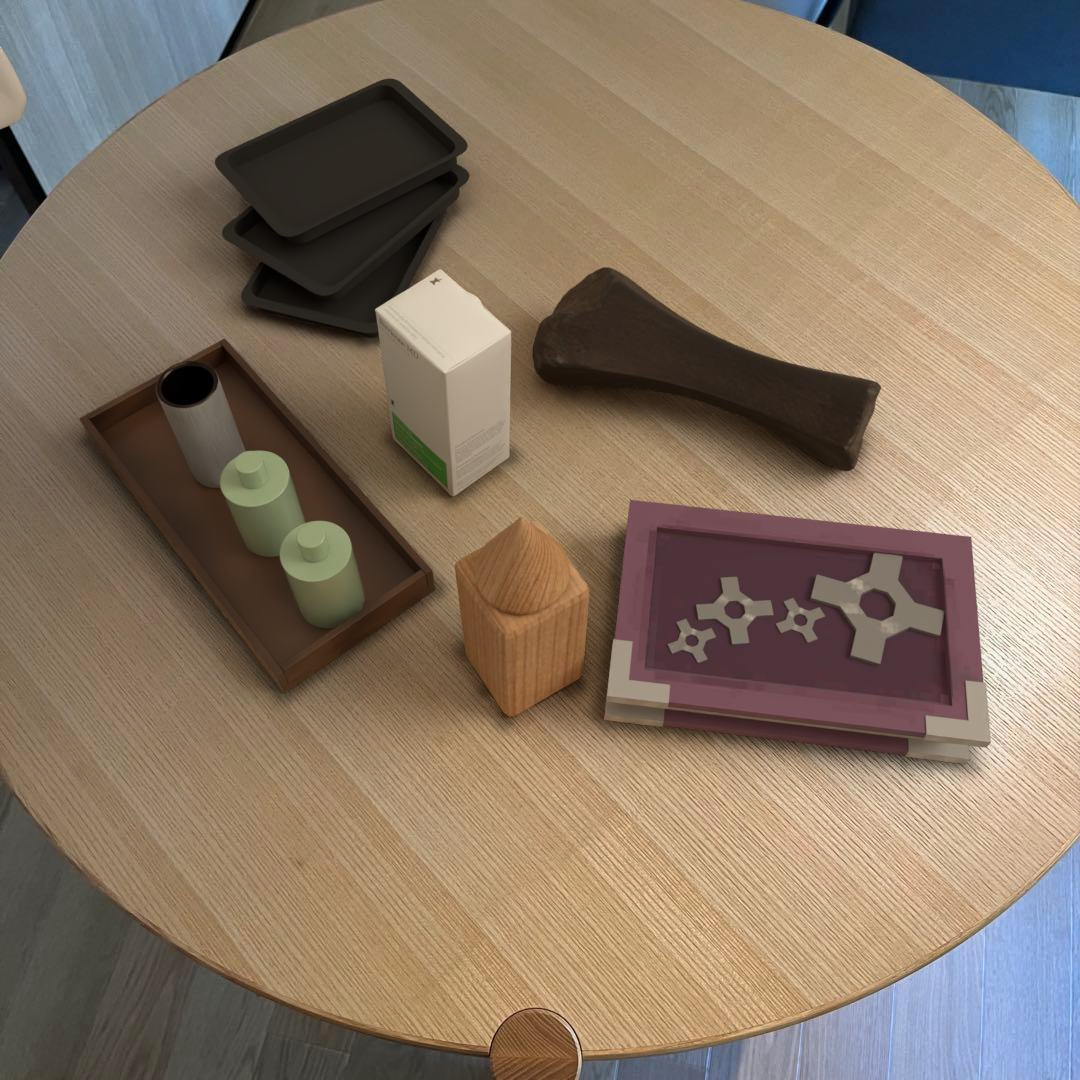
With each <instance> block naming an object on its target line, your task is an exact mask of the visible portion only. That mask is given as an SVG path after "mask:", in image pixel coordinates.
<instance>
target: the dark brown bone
mask: <svg viewBox="0 0 1080 1080" xmlns="http://www.w3.org/2000/svg"><path fill="white" fill-rule="evenodd" d="M531 348H532V351H531V357H532V361H533V362H532V363H533V368H534V370H535V372H536V374H537V376H538V377H539V378H540V379H541V380H542V381H544V382H545V383H547V384H549V385H552V386H558V387H579V388H582V387H584V388H585V387H588V388H589V387H596V388H626V389H638V390H645V391H650V392H651V391H653V392H658V393H663V394H668V395H673V396H678V397H682V398H686V399H688V400H693V401H697V402H699V403H703V404H706V405H709V406H712V407H714V408H717V409H720V410H723V411H725V412H728V413H731V414H732V415H736V416H739V417H741V418H743V419H745V420H747V421H750V422H752V423H754V424H756V425H758V426H759V427H762V428H764V429H766V430H768V431H769V432H772V433H774V435H775V434H776V435H778V436H779V437H781V438H782V439H785V440H786V441H787V442H790V443H791V444H793V445H795V446H797V447H798V448H800V449H801V450H803V451H805V452H807V454H809V455H811V456H813V457H814V458H816V459H817V460H819V461H821V462H823V463H824V464H826V465H827V466H829V467H831V468H834V469H836V470H839V471H841V472H851V471H852V470H853V469H855V468H856V466H857V463H858V460H859V455H860V453H861V450H862V446H863V442H864V435H865V432H866V430H867V427H868V425H869V423H870V421H871V419H872V417H873V415H874V412H875V410H876V404H877V403H876V402H877V399H878V397H879V394H880V392H881V389H882V386H881V384H880V383H879V382H877V381H875V380H871V379H868V378H864V377H859V376H853V375H848V374H843V373H839V372H833V371H827V370H822V369H819V368H813V367H808V366H804V365H801V364H797V363H792V362H788V361H785V360H781V359H777V358H774V357H770V356H768V355H766V354H762V353H759V352H756V351H753V350H750V349H748V348H745V347H742V346H740V345H738V344H735V343H733V342H731V341H728V340H726V339H724V338H721V337H719V336H717V335H715V334H713V333H711V332H709V331H708V330H706V329H704V328H701V327H700V326H698V325H696V324H694V322H691V321H689V320H688V319H686V318H685V317H683V316H681V315H680V314H678V313H677V312H675V311H674V310H672V309H671V308H669V307H668V306H667V305H666V304H664V303H663V302H661V301H660V300H658V299H657V298H655V297H654V296H653V295H651V294H650V293H649V292H648V291H647V290H645V289H644V288H643V287H642V286H640V285H639V284H638V283H636V282H635V281H634V280H633V279H631V278H630V277H628V276H627V275H625V274H623V273H622V272H621V271H619V270H617V269H615V268H613V267H606V266H605V267H604V266H603V267H601V268H599V269H596V270H594V271H593V272H590V273H589V274H587V275H586V276H585V277H584V278H583V279H582V280H581V281H580V282H578V283H577V284H575V285H574V286H573V287H571V288H570V289H569V290H568V291H567V292H565V293H564V295H562V297H561V299H560V300H559V301H558V303H557V304H556V306H555V308H554V309H553V312H552V314H550V315H548V316H546V317H545V318H543V319H542V320H541V321H540V323H539V325H538V327H537V330H536V332H535V337H534V340H533V343H532V347H531Z"/></svg>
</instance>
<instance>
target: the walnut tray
mask: <svg viewBox="0 0 1080 1080" xmlns="http://www.w3.org/2000/svg"><path fill="white" fill-rule="evenodd" d="M184 361H200V362H203V363H206V364H208V365H210V366H211V367H212V368H213V369H214V370H215V371H216V373H217V375H218V377H219V380H220V383H221V385H222V388H223V391H224V394H225V396H226V399H227V402H228V404H229V407H230V410H231V413H232V415H233V418H234V421H235V423H236V426H237V429H238V432H239V434H240V437H241V440H242V442H243V445H244V448H245V450H246V451H268V452H271V453H274V454H276V455H278V456H279V457H281V458H282V459H283V460H284V461H285V463H286V464H287V466H288V469H289V472H290V475H291V478H292V481H293V484H294V487H295V490H296V494H297V497H298V500H299V503H300V506H301V509H302V512H303V515H304V518H305V521H306V523H308V522H312V521H327V522H331V523H334V524H336V525H338V526H339V527H341V528H342V529H343V530H344V531H345V532H346V533H347V534H348V536H349V538H350V541H351V544H352V548H353V551H354V555H355V559H356V562H357V566H358V570H359V574H360V577H361V581H362V585H363V588H364V593H365V600H364V604H363V607H362V609H361V610H360V611H359V612H357V613H356V614H354V615H353V616H351V617H350V618H349V619H347V620H346V621H344V622H343V623H341V624H340V625H338V626H337V627H335V628H330V629H325V628H319V627H316V626H314V625H312V624H310V623H308V622H307V621H306V620H305V619H304V618H303V617H302V615H301V614H300V611H299V609H298V606H297V604H296V601H295V598H294V596H293V593H292V591H291V588H290V585H289V583H288V580H287V577H286V575H285V572H284V569H283V567H282V564H281V561H280V556H276V557H265V556H260V555H257V554H255V553H253V552H251V551H250V550H249V549H248V548H247V547H246V546H245V544H244V542H243V540H242V538H241V536H240V533H239V531H238V528H237V526H236V524H235V521H234V519H233V517H232V514H231V512H230V510H229V507H228V505H227V502H226V500H225V498H224V495H223V493H222V491H221V488H209V487H206V486H203V485H202V484H200V483H199V482H198V481H197V480H196V479H195V478H194V476H193V474H192V472H191V470H190V468H189V465H188V463H187V461H186V459H185V456H184V454H183V452H182V450H181V448H180V445H179V443H178V441H177V439H176V436H175V434H174V432H173V430H172V428H171V425H170V423H169V421H168V419H167V416H166V414H165V412H164V410H163V408H162V405H161V403H160V401H159V399H158V396H157V393H156V384H157V381H158V379H159V377H160V376H161V374H162V373H163V372H164V371H163V372H161V373H159V374H157V375H155V376H153V377H151V378H149V379H148V380H146V381H144V382H142V383H140V384H139V385H137V386H135V387H133V388H131V389H130V390H127V391H126V392H124V393H122V394H120V395H119V396H117V397H115V398H113V399H111V400H110V401H107V402H106V403H104V404H102V405H100V406H99V407H97V408H95V409H93V410H92V411H90V412H88V413H86V414H84V415H81V417H79V421H80V423H81V426H82V427H83V428H84V430H85V432H86V434H87V435H88V438H89V439H90V442H91V443H92V444H93V445H94V447H95V448H96V449H97V451H98V452H99V453H100V454H101V455H102V457H103V458H104V459H105V461H106V462H107V463H108V465H109V466H110V468H111V469H112V470H113V472H115V474H116V475H117V476H118V478H119V479H120V480H121V482H122V483H123V484H124V486H125V487H126V488H127V489H128V491H129V492H130V493H131V495H132V496H133V497H134V499H135V500H136V502H137V503H138V504H139V506H140V507H141V508H142V510H144V512H145V513H146V514H147V515H148V517H149V519H151V521H152V522H153V524H154V525H155V526H156V527H157V529H158V530H159V532H160V533H161V534H162V535H163V536H164V538H165V539H166V540H167V542H168V543H169V544H170V546H171V547H172V548H173V550H174V551H175V552H176V554H177V555H178V556H179V558H180V559H181V560H182V562H183V563H184V564H185V565H186V567H187V568H188V570H189V571H190V572H191V574H192V575H193V576H194V577H195V579H196V580H197V581H198V583H199V584H200V585H201V587H202V588H203V590H205V592H206V593H207V594H208V596H209V598H211V599H212V601H213V602H214V603H215V605H216V606H217V608H218V609H219V610H220V611H221V613H222V614H223V616H224V617H225V618H226V619H227V621H228V622H229V623H230V625H231V626H232V627H233V629H234V630H235V631H236V633H237V634H238V635H239V636H240V638H241V639H242V640H243V642H244V643H245V644H246V645H247V647H248V648H249V649H250V651H251V652H252V653H253V655H254V656H255V657H256V659H257V660H258V661H259V662H260V664H261V665H262V666H263V668H264V669H265V670H266V671H267V673H268V675H269V676H270V677H271V679H272V680H273V681H274V682H275V683H276V685H277V686H278V687H279V689H280V690H281V691H282V693H283V694H286V693H288V692H289V691H291V690H292V689H294V687H296V686H298V685H299V684H301V683H302V682H304V681H306V680H307V679H308V678H309V677H311V676H312V675H314V674H315V673H316V672H318V671H320V670H321V669H323V668H324V667H325V666H327V665H328V664H329V663H332V662H333V661H334V660H335V659H337V658H339V657H340V656H341V655H343V654H344V653H345V652H347V651H348V650H350V649H351V648H353V647H354V646H356V645H357V644H358V643H360V642H362V641H363V640H364V639H366V638H367V637H369V636H370V635H372V634H374V632H376V631H378V630H379V629H380V628H382V627H384V626H385V625H387V624H388V623H389V622H391V621H392V620H393V619H395V618H396V617H398V616H399V615H401V614H402V613H404V612H405V611H406V610H408V609H409V608H411V607H413V606H414V605H415V604H417V603H419V602H420V601H421V600H423V599H424V598H425V597H427V596H429V595H430V594H431V593H433V592H434V591H435V590H436V586H435V585H436V584H435V578H434V573H433V569H432V568H431V567H430V566H429V564H428V563H427V562H426V561H425V559H423V558H422V557H421V555H419V554H418V552H417V551H416V550H415V548H413V547H412V546H411V545H410V543H409V542H408V541H407V540H406V539H405V538H404V537H403V535H402V534H401V533H400V532H399V530H398V529H396V528H395V527H394V526H393V524H392V523H391V522H390V521H389V520H388V519H387V518H386V516H385V515H384V514H383V513H382V511H380V510H379V509H378V508H377V507H376V505H375V504H374V503H373V502H372V500H370V499H369V497H368V496H367V495H366V494H365V493H364V492H363V491H362V490H361V489H360V488H359V486H358V485H357V484H356V483H355V482H354V480H352V479H351V477H350V476H349V475H348V474H347V473H346V472H345V471H344V469H343V468H342V467H341V466H340V465H339V464H338V463H337V462H336V461H335V460H334V458H333V457H332V456H331V455H330V454H329V453H328V452H327V451H326V449H325V448H323V446H322V445H321V444H320V443H319V442H318V441H317V440H316V438H315V437H314V436H313V435H312V434H311V432H310V431H308V429H307V428H306V427H305V426H304V424H302V423H301V422H300V421H299V419H298V418H297V417H296V416H295V415H294V413H292V411H291V410H290V409H289V408H288V407H287V406H286V405H285V404H284V403H283V401H282V400H281V399H280V398H279V396H277V394H275V392H274V391H272V389H271V388H270V387H269V386H268V385H267V384H266V382H265V381H264V380H263V379H262V378H261V377H260V376H259V375H258V374H257V372H256V371H255V370H254V369H253V368H252V367H251V366H250V365H249V364H248V362H247V361H246V360H245V359H244V358H243V357H242V356H241V354H239V352H238V351H237V350H236V349H235V347H233V346H232V344H231V343H230V342H229V341H228V340H227V339H226V338H225V337H224V338H222V339H221V340H219V341H217V342H215V343H212V345H209V346H207V347H205V348H204V349H202V350H201V351H199V352H197V353H195V354H193V355H191V356H189V357H187V358H185V359H184V360H183V361H181V362H184Z"/></svg>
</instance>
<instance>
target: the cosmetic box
mask: <svg viewBox="0 0 1080 1080" xmlns="http://www.w3.org/2000/svg"><path fill="white" fill-rule="evenodd" d="M375 312H376V318H377V325H378V333H379V336H378V338H379V346H380V353H381V362H382V368H383V376H384V383H385V390H386V398H387V405H388V412H389V413H388V414H389V420H390V426H391V436H392V439H393V440H394V442H395V443H397V445H398V446H400V447H401V448H402V449H403V450H404V451H405V452H406V453H407V454H408V455H409V456H410V458H412V459H413V460H414V461H415V462H416V463H417V464H418V465H419V466H420V467H421V468H422V469H423V470H424V471H425V472H426V473H427V474H429V475H430V477H431V478H433V480H434V481H436V483H438V484H439V486H440V487H442V488H443V489H444V491H445V492H447V494H449V495H450V496H451V497H455V496H457V495H459V493H461V492H462V491H464V490H466V489H467V488H468V487H470V486H471V485H472V484H474V483H476V482H477V481H478V480H479V479H481V478H482V477H484V476H485V475H487V474H488V473H489V472H491V471H492V470H494V469H495V468H496V467H498V466H499V465H501V464H502V463H503V462H505V461H506V460H508V459H509V458H510V457H511V456H510V455H511V454H510V450H511V448H510V445H511V442H510V441H511V440H510V439H511V437H510V436H511V382H512V381H511V372H512V371H511V369H512V366H511V365H512V364H511V363H512V330H511V329H509V328H508V327H507V326H506V325H505V324H504V323H502V321H500V319H498V318H497V317H496V316H495V315H494V314H492V313H491V312H490V311H489V309H487V308H486V307H485V306H484V305H483V303H482V301H481V300H480V298H478V296H477V295H475V294H473V293H471V292H468V291H466V290H465V289H464V288H463V287H462V286H461V285H460V284H458V283H457V282H456V281H454V279H453V278H451V277H450V276H449V275H448V274H447V273H446V272H444V271H443V270H442V269H440V268H439V269H438V270H435V271H434V272H433V273H431V274H430V275H428V276H426V277H425V278H423V279H422V280H420V281H418V282H417V283H415V284H414V285H412V286H411V287H410V286H409V287H408V289H407V290H406V291H404V292H402V293H401V294H399V295H397V296H396V297H394V298H392V299H391V300H389V301H387V302H386V303H384V304H383V305H381V306H379V307H378V308H376V309H375Z"/></svg>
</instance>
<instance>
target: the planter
mask: <svg viewBox="0 0 1080 1080" xmlns="http://www.w3.org/2000/svg"><path fill="white" fill-rule="evenodd" d="M183 361H184V360H183ZM161 373H162V372H161ZM161 373H160V374H161ZM156 393H157V396H158V399H159V401H160V403H161V405H162V408H163V410H164V412H165V414H166V416H167V419H168V421H169V423H170V425H171V428H172V430H173V432H174V434H175V436H176V439H177V441H178V443H179V445H180V448H181V450H182V452H183V454H184V456H185V459H186V461H187V463H188V465H189V468H190V470H191V472H192V474H193V476H194V478H195V479H196V480H197V481H198V482H199V483H200V484H202V485H203V486H206V487H209V488H221V487H220V478H221V474H222V472H223V470H224V468H225V467H226V466H227V464H228V463H229V462H230V461H232V460H233V459H234V458H236V457H237V456H239V455H240V454H241V453H243V452H246V450H245V448H244V445H243V442H242V440H241V437H240V434H239V432H238V429H237V426H236V423H235V421H234V418H233V415H232V413H231V410H230V407H229V404H228V402H227V399H226V396H225V394H224V391H223V388H222V385H221V383H220V380H219V377H218V375H217V373H216V371H215V370H214V369H213V368H212V367H211V366H210V365H208V364H206V363H203V362H200V361H184V362H182V361H181V362H180V361H179V362H177V363H174V364H173V365H171V366H169V367H167V368H166V369H164V371H163V373H162V374H161V376H160V377H159V379H158V381H157V384H156Z"/></svg>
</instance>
